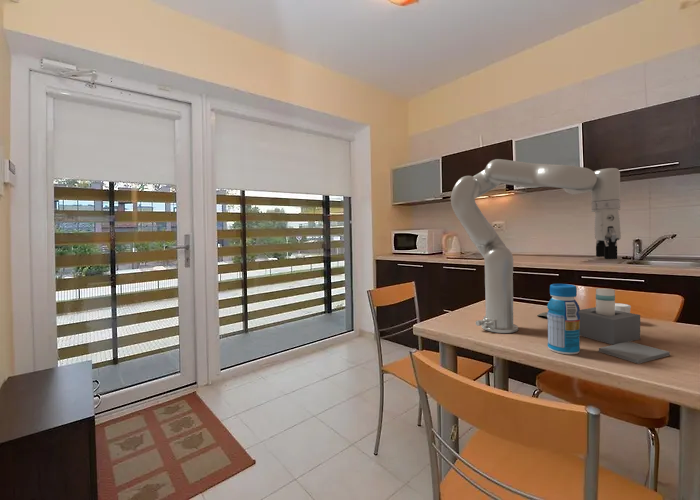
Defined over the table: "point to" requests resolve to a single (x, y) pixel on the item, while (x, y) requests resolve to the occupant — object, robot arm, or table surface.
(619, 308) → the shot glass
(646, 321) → the table surface
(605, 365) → the table surface
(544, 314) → the soupspoon
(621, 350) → the rubber mat
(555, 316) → the beverage bottle
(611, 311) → the cylinder
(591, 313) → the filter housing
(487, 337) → the table surface
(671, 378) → the table surface
